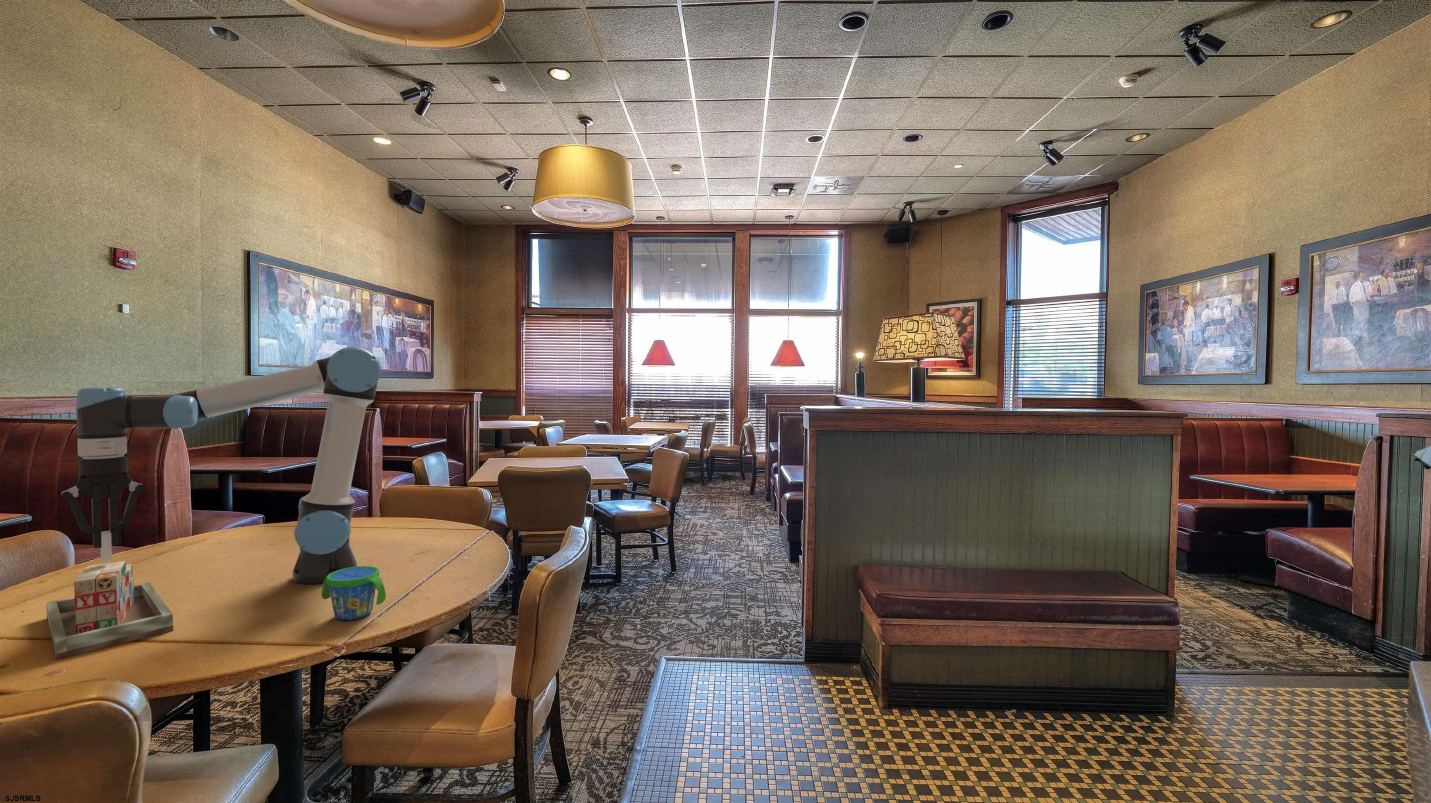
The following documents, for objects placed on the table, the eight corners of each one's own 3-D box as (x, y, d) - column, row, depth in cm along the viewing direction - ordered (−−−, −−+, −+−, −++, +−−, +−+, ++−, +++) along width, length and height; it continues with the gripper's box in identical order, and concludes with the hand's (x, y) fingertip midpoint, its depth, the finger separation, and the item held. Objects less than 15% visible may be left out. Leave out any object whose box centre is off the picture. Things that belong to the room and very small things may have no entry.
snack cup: (398, 610, 138) (398, 569, 137) (359, 628, 128) (358, 583, 127) (349, 602, 142) (348, 562, 142) (307, 619, 132) (306, 576, 132)
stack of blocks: (97, 606, 136) (96, 555, 135) (135, 600, 140) (133, 550, 139) (75, 639, 119) (73, 580, 119) (118, 630, 123) (116, 574, 123)
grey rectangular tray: (149, 596, 145) (149, 582, 145) (173, 630, 126) (172, 614, 126) (46, 618, 132) (46, 602, 132) (55, 659, 113) (55, 641, 113)
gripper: (60, 461, 120) (63, 571, 121) (146, 455, 131) (149, 557, 131) (57, 457, 125) (61, 564, 126) (141, 452, 135) (144, 551, 136)
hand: (106, 560), depth 129 cm, fingers closed
